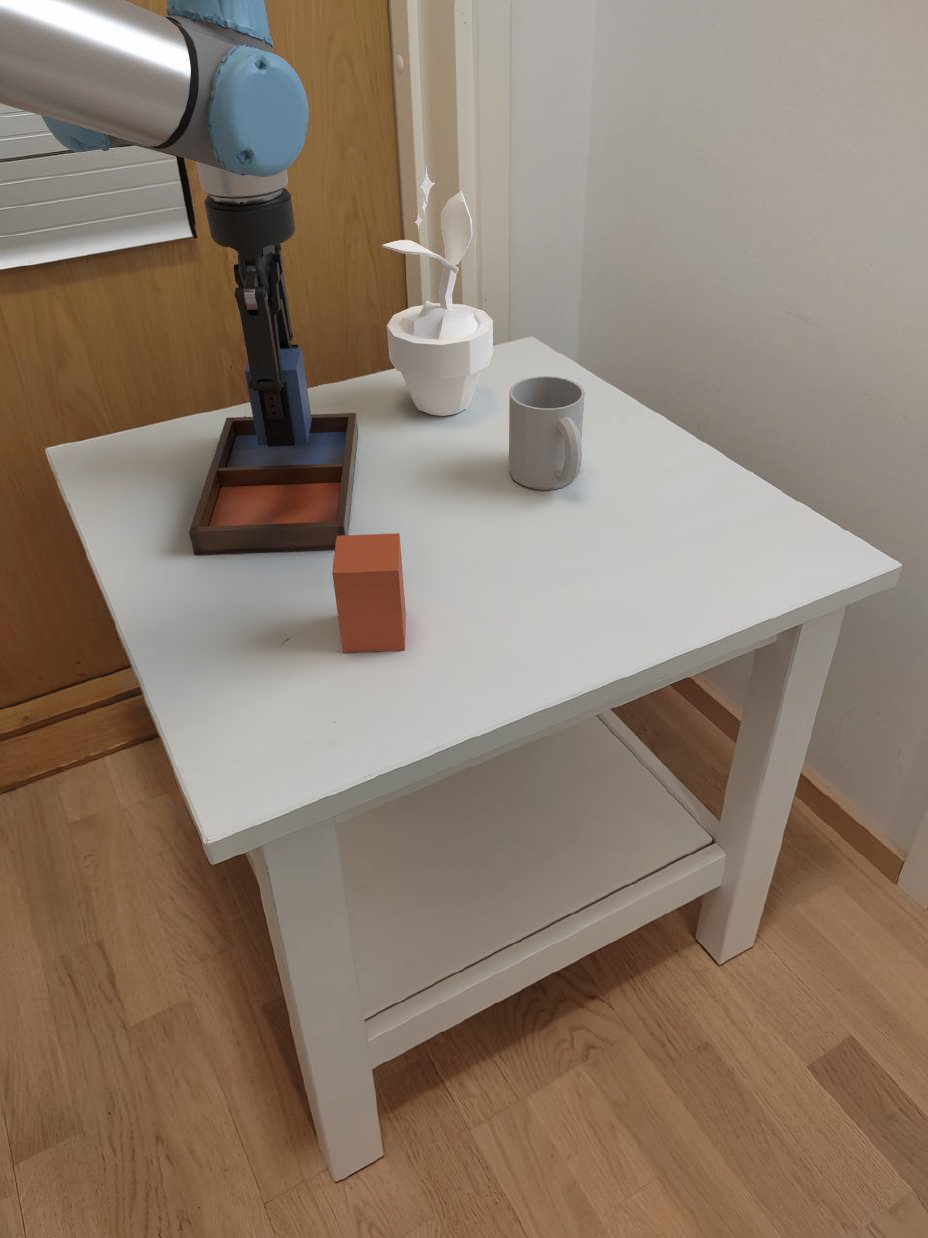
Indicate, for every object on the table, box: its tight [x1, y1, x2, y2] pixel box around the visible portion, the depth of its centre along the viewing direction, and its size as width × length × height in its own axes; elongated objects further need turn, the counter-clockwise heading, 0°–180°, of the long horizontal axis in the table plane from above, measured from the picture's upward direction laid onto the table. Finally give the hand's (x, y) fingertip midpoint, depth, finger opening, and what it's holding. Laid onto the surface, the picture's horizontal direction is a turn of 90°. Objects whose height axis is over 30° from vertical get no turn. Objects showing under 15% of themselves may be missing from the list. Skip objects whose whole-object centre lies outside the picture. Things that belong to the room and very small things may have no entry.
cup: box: [508, 375, 586, 491], centre depth 94 cm, size 7×10×9 cm
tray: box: [188, 412, 359, 556], centre depth 95 cm, size 14×22×3 cm, turn 2°
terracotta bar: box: [331, 533, 407, 654], centre depth 76 cm, size 5×5×8 cm
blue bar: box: [244, 347, 312, 445], centre depth 96 cm, size 5×5×8 cm
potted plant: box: [381, 165, 494, 417], centre depth 102 cm, size 13×12×25 cm
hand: (284, 430), depth 98 cm, fingers closed on blue bar, 5 cm apart
